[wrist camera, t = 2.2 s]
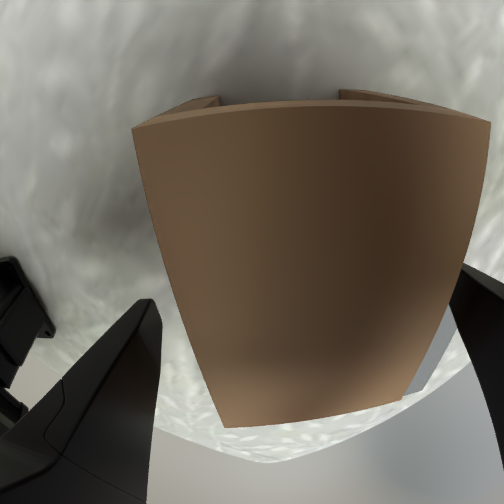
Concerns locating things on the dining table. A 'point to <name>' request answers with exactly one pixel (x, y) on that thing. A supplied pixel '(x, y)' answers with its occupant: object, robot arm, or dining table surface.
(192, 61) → the dining table surface
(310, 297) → the wooden seat
